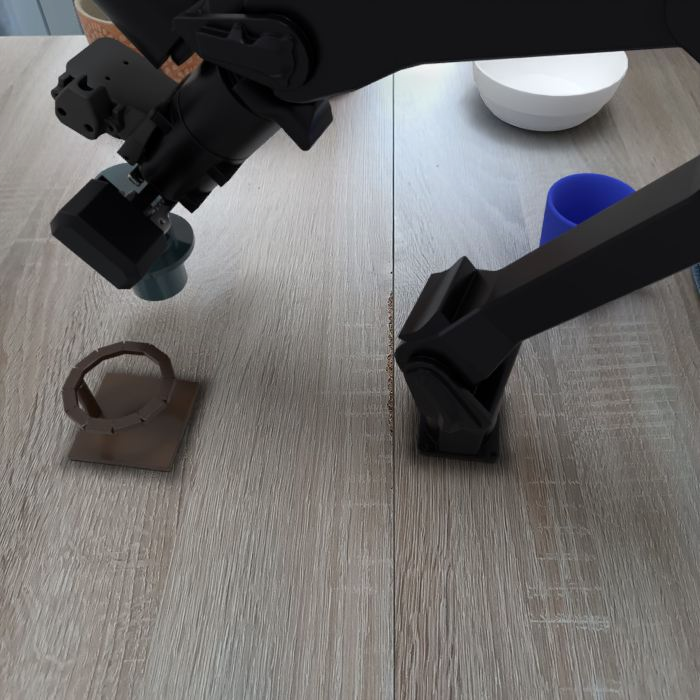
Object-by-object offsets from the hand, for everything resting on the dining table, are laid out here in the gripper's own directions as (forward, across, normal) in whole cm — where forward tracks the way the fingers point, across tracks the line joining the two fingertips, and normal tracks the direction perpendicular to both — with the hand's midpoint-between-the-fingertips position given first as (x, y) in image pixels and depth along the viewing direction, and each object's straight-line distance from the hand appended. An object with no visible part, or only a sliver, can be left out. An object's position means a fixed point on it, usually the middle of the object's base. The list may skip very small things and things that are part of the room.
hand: (124, 218), depth 52 cm
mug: (-16, -19, +35) cm, 43 cm away
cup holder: (+7, +10, +12) cm, 17 cm away
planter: (+22, -33, -3) cm, 40 cm away
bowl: (-8, -49, +28) cm, 57 cm away
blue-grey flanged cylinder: (+4, 0, +6) cm, 7 cm away
